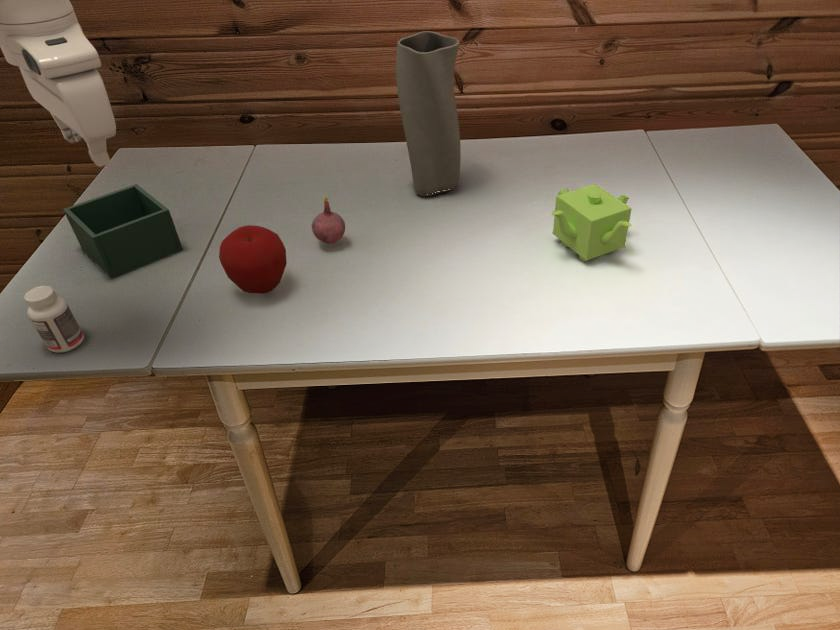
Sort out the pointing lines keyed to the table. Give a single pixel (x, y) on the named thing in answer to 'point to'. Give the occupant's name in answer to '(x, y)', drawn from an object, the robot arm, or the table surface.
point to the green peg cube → (591, 221)
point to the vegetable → (328, 225)
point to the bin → (124, 230)
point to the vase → (429, 109)
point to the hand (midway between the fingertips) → (87, 152)
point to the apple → (253, 259)
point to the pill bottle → (53, 319)
